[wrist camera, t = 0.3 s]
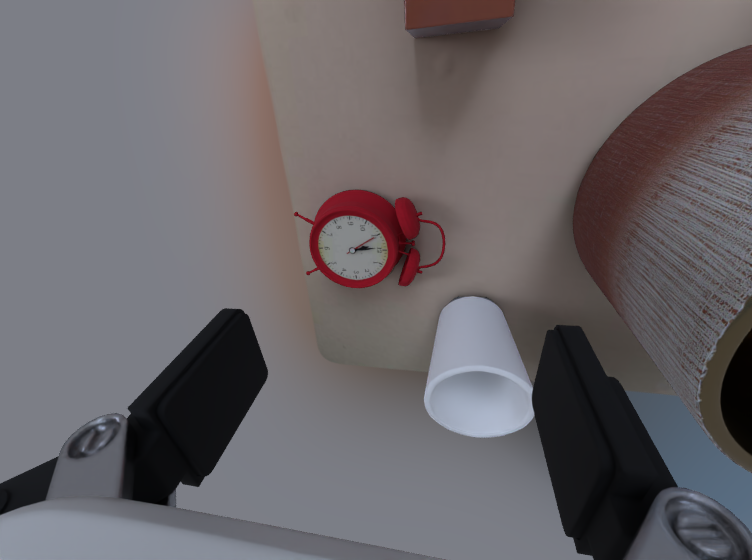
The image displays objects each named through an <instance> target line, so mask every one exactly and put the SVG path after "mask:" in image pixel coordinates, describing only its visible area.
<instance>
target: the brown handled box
mask: <svg viewBox="0 0 752 560" xmlns="http://www.w3.org/2000/svg"><path fill="white" fill-rule="evenodd" d="M404 7H405V30H406V31H407V32H408V33H410V34H411V35H412V36H413V37H414V38H422V37H430V36H439V35H447V34H456V33H464V32H473V31H481V30H490V29H498V28H500V27H501V26H502V25H504V24H505V23H506V22H507V21H508V20H509V19H511V18H512V17H513V16H514V8H515V0H404Z"/></svg>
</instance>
